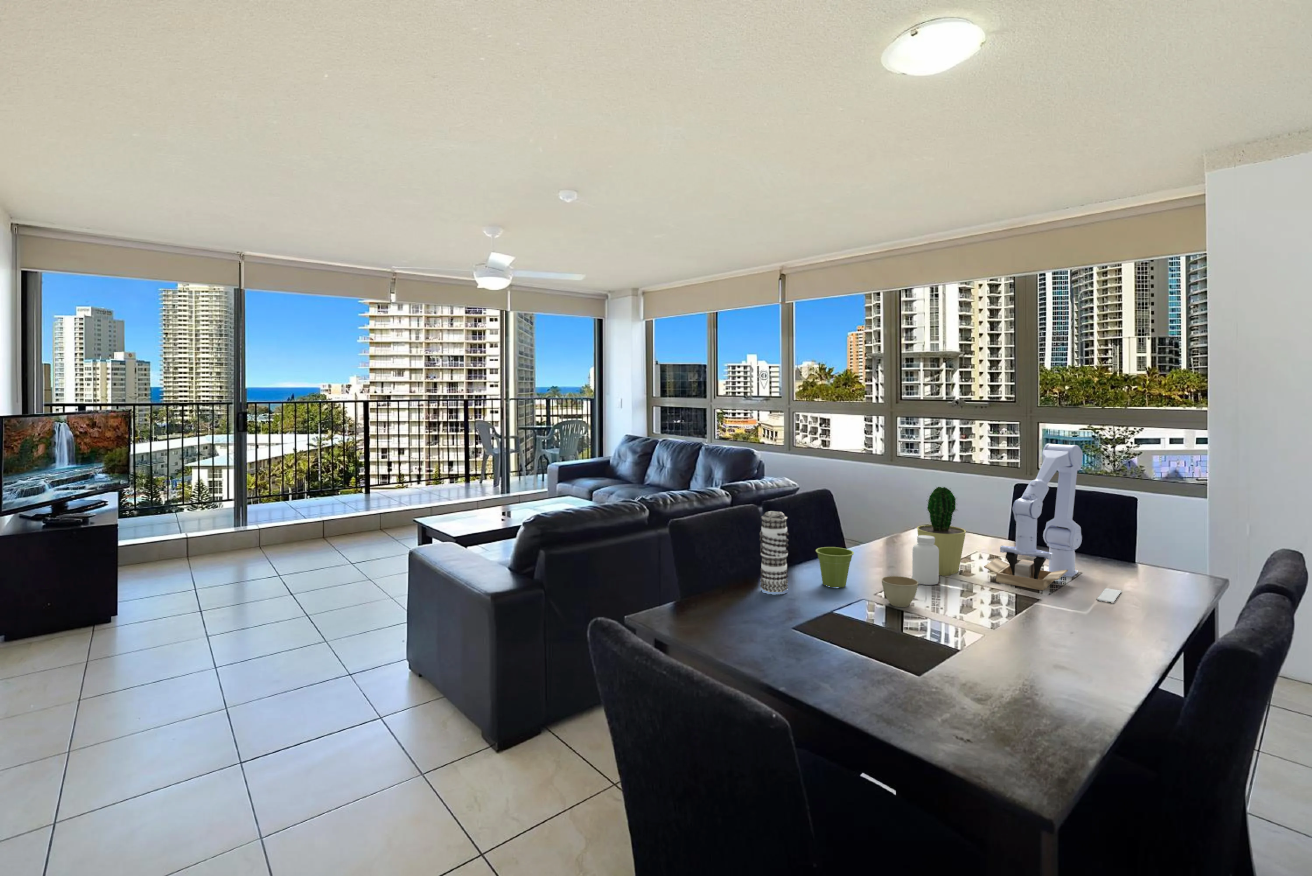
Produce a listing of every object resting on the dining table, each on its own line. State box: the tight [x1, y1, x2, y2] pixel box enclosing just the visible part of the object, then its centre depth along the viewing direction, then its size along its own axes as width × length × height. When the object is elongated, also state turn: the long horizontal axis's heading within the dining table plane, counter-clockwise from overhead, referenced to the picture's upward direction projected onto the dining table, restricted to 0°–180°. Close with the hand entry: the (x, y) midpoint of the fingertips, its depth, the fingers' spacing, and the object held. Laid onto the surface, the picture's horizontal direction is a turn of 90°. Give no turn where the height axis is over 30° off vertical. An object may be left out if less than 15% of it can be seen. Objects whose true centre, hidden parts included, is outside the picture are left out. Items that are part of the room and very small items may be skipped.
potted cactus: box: [916, 486, 967, 577], centre depth 214 cm, size 15×15×30 cm
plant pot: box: [815, 546, 855, 588], centre depth 200 cm, size 12×12×11 cm
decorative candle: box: [759, 510, 790, 592], centre depth 195 cm, size 9×9×25 cm
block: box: [1015, 559, 1034, 579], centre depth 200 cm, size 8×4×6 cm, turn 135°
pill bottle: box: [911, 535, 940, 586], centre depth 203 cm, size 8×8×15 cm
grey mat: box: [1095, 587, 1122, 604], centre depth 189 cm, size 14×12×1 cm
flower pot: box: [881, 575, 919, 608], centre depth 182 cm, size 10×10×7 cm
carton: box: [983, 558, 1068, 591], centre depth 200 cm, size 13×21×5 cm, turn 46°
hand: (1025, 577), depth 200 cm, fingers open, 5 cm apart
